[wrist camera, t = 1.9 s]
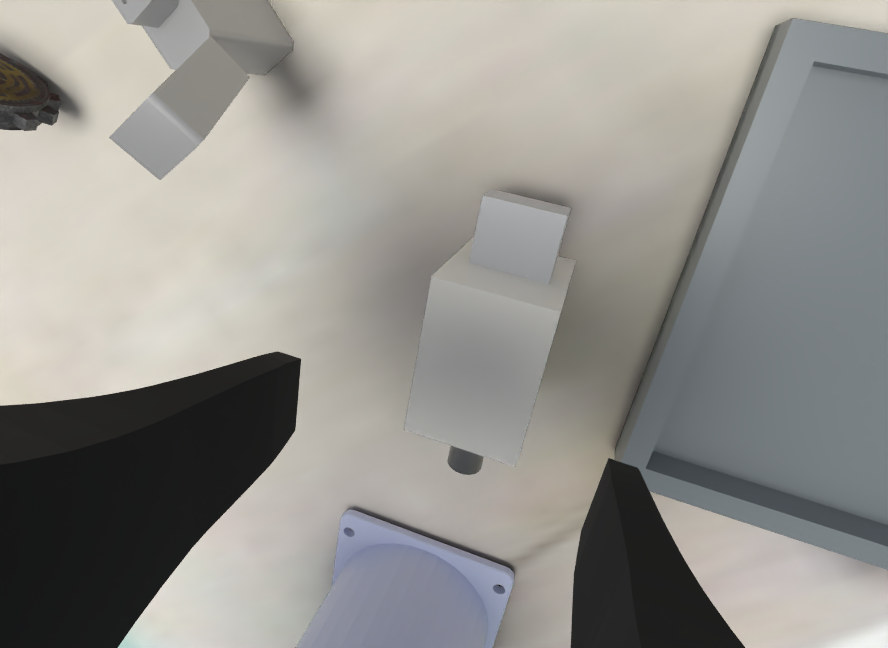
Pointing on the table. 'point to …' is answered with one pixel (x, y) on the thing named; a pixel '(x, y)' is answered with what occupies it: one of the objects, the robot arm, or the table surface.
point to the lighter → (196, 71)
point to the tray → (785, 311)
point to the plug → (490, 331)
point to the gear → (24, 98)
